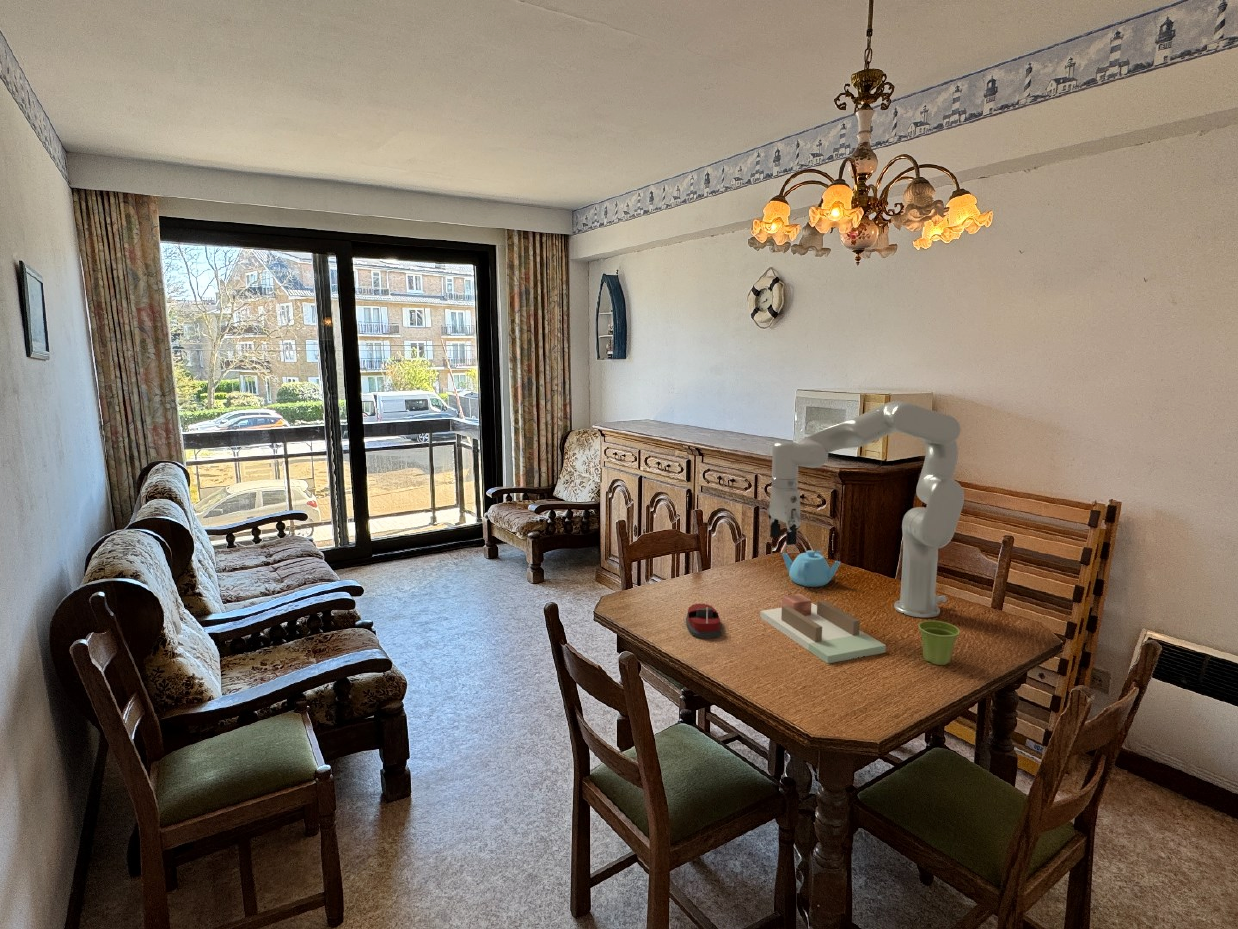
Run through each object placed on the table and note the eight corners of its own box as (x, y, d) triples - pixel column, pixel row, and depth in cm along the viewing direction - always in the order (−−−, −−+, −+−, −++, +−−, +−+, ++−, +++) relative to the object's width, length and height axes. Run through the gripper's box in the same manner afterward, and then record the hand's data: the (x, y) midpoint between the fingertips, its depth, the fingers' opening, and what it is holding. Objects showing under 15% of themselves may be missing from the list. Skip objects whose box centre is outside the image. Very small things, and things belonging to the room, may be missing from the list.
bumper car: (715, 615, 199) (715, 583, 197) (727, 643, 179) (727, 608, 177) (682, 615, 199) (683, 583, 197) (691, 644, 179) (691, 608, 177)
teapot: (779, 575, 233) (780, 546, 231) (818, 572, 236) (820, 543, 234) (799, 590, 218) (799, 559, 216) (840, 586, 221) (842, 555, 219)
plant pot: (962, 670, 162) (964, 636, 160) (921, 667, 164) (923, 634, 162) (951, 653, 171) (953, 621, 169) (912, 650, 173) (914, 619, 171)
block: (798, 607, 197) (799, 593, 197) (811, 615, 192) (811, 600, 191) (781, 610, 196) (782, 596, 195) (793, 618, 190) (793, 603, 189)
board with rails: (811, 609, 202) (812, 590, 201) (885, 652, 172) (886, 630, 171) (760, 617, 196) (760, 598, 195) (827, 663, 166) (828, 641, 165)
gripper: (813, 487, 188) (811, 547, 191) (779, 477, 204) (777, 532, 207) (790, 489, 186) (788, 549, 189) (758, 479, 202) (756, 534, 205)
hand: (782, 540), depth 198 cm, fingers open, 7 cm apart
